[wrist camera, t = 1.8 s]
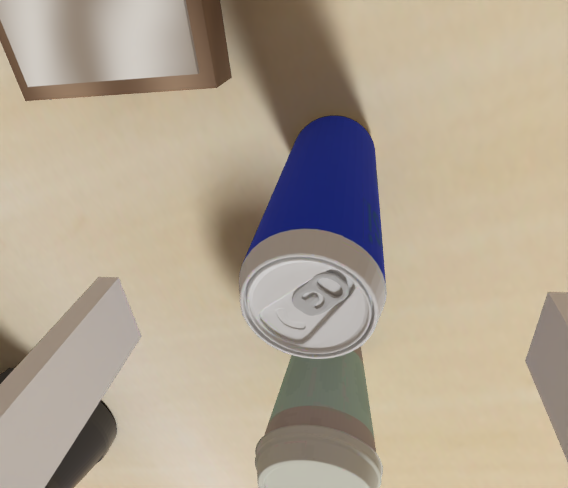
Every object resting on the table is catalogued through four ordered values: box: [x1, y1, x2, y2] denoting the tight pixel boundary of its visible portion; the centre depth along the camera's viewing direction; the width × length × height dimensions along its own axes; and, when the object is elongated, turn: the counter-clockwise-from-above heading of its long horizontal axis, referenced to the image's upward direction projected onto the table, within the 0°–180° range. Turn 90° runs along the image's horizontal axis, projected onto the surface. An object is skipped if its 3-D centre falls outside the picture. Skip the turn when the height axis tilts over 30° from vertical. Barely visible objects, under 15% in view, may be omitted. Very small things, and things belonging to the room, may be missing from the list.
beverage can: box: [239, 116, 386, 359], centre depth 19 cm, size 5×5×15 cm
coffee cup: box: [255, 347, 383, 488], centre depth 30 cm, size 8×8×12 cm
